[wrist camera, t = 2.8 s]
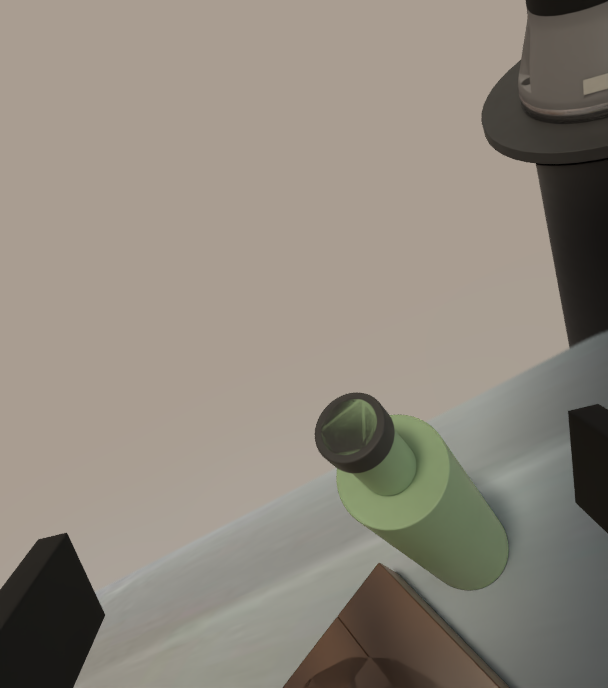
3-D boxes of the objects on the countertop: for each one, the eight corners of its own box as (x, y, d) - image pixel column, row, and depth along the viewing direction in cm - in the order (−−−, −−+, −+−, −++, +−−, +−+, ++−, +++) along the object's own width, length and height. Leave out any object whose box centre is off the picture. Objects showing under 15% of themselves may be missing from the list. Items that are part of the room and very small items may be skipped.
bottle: (454, 485, 29) (347, 348, 18) (527, 538, 25) (446, 404, 15) (406, 547, 28) (266, 443, 17) (474, 611, 24) (348, 528, 14)
